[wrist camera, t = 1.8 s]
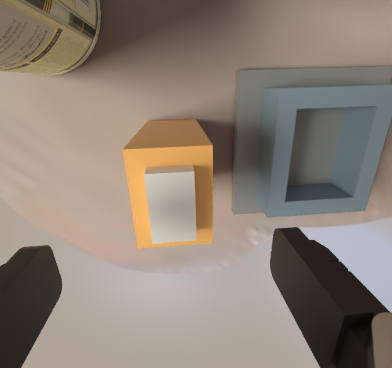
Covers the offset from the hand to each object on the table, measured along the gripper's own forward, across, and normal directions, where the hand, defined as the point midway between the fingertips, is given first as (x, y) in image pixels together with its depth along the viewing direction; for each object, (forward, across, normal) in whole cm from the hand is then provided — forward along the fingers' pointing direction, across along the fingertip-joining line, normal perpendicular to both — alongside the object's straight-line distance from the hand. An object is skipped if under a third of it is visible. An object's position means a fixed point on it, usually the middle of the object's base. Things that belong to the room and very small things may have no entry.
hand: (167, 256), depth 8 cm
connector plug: (+16, 0, 0) cm, 16 cm away
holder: (+15, -13, 0) cm, 20 cm away
